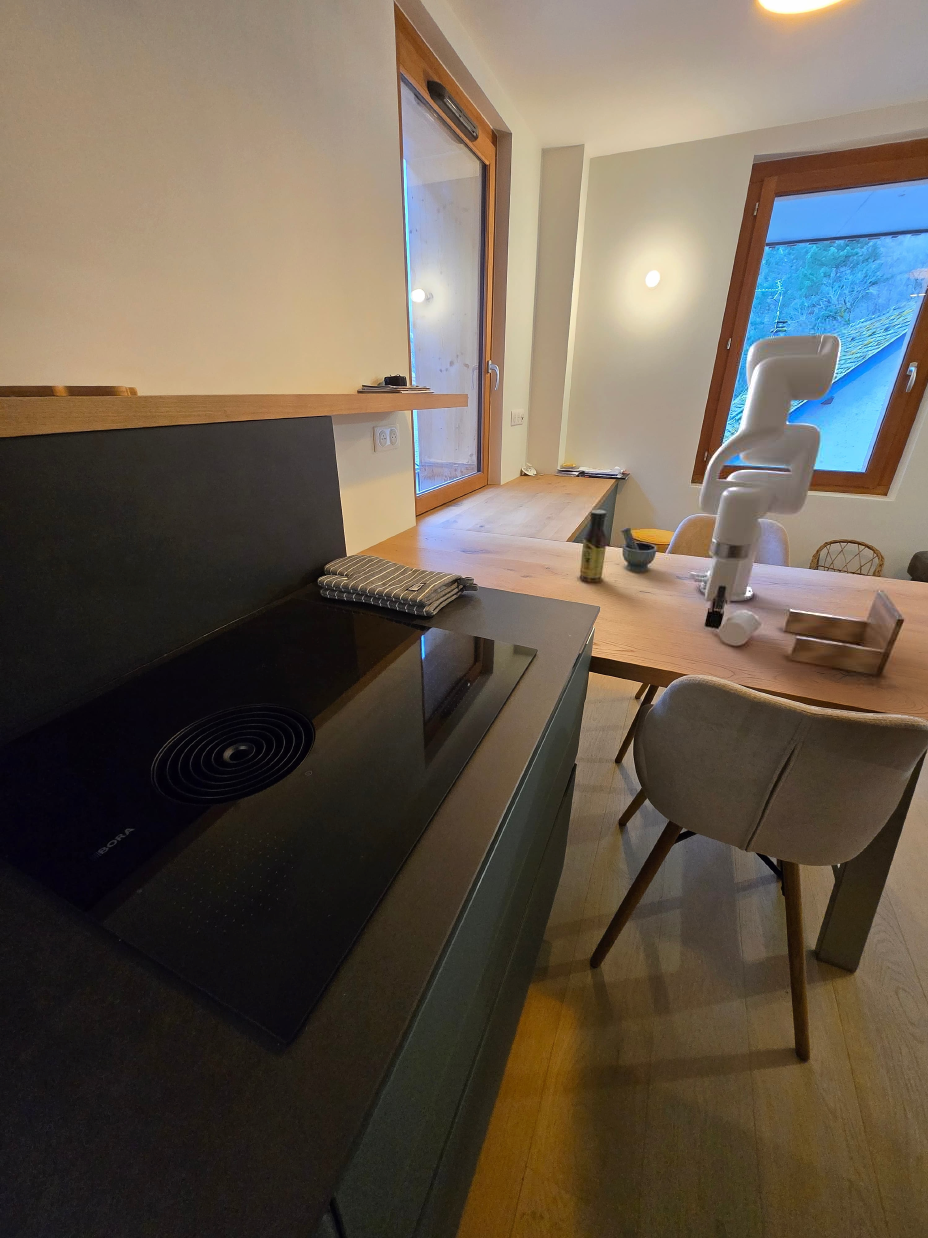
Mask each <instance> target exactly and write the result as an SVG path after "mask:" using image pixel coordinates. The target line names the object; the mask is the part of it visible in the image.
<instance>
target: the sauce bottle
mask: <svg viewBox="0 0 928 1238" xmlns="http://www.w3.org/2000/svg"><path fill="white" fill-rule="evenodd" d="M589 516H590V521H589V527H588V529H587V531H586V533H585V535H584V537H583V541H582V550H581V559H580V567H579V577H580V579H581V580H582V581H584V582H586V583H598V582H599V581H600V582H601V580H602V576H603V570H604V564H605V563H604V562H605V556H606V555H605V554H606V549H607V545H606V543H607V537H608V535H607V532H606V530H605V529H604V528H605V520H606V517H607V511H605V510H602V509H593V510H591V511H590V515H589Z"/></svg>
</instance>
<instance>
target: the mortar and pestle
mask: <svg viewBox="0 0 928 1238" xmlns="http://www.w3.org/2000/svg"><path fill="white" fill-rule="evenodd" d="M631 530H632V529H631V527H630V526H628V527H624V528H623V529H621V530H620V532H621V534H622V535H623V538H624V541H625V543H623V546H622V557H623V560H624V561H625V562H626V563H627V565H626V567H625V568H626V570H628V571H630V572H635V573H643V572H647V571H648V566H649V565H650V564H652V563H653V561H654V560H655V557H656V554H657V549H658V546H656V545H654V544H653V543H648V542H643V541H636V540H635V537H634V535H633V533H632V531H631Z"/></svg>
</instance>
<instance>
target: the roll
mask: <svg viewBox="0 0 928 1238" xmlns="http://www.w3.org/2000/svg"><path fill="white" fill-rule="evenodd" d="M761 626H762V623H761V621H760V619H759V617H758V616H757V615H756V614H755V613H754V612H753V611H749V610H746V609H740V610H737V611H735V613H733V614H732V615H731V616H730V617H728V618H727V619H726V620H725V621H724V622H722V623H721V626H720V627H719V629H717V630H718V631H717V632H718V636H719V638H720V639H721V640H722V641H723V642H724V643H725V644H727V645H729V646H735V647H738V646H741V645H744V644H745V643H746V642H747V641H748V640H749V639H750V638H751V637H752V636H753V635H754V634H755V633H756V632H757V631H758V629H759V628H761Z"/></svg>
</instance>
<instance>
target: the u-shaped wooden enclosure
mask: <svg viewBox="0 0 928 1238" xmlns="http://www.w3.org/2000/svg"><path fill="white" fill-rule="evenodd" d="M902 615H903V614H901V612H900V611H899V609H897V606H896V605H895V604H894V603H893V601H892V600H891V599H890V597H889V596H888V594H887V593H886V592H885V590H883V589H877V591H876V593H875V596H874V599H873V601H872V604H871V606H870V610H869V612H868V615H867V618H866V620H865V619H859V618H852V617H846V616H845V617H844V616H838V615H833V614H832V615H831V614H825V613H818V612H811V611H804V610H797V609H791V608H789V610H788V613H787V615H786V620H785V623H784V626H783V631H784V632H789V633H795V634H801V635H806V636H814V637H819V639H818V638H812V637H806V636H800V635H796V636H795V639H794V641H793V645H792V648H791V651H790V655H789V660H791V661H797V662H803V663H808V664H812V665H818V666H825V667H830V668H835V669H841V670H847V671H852V672H857V673H863V674H868V675H874V676H879V677H881V676H882V675H883V672H884V670H885V668H886V665H887V663H888V660H889V658H890V655H891V654H892V652H893V648H894V646H895V644H896V642H897V639H898V636H899V634H900V632H901V630H902V627H903V624H904V622H905V618H904V617H903V616H902ZM820 638H826V639H831V641H830V640H825V639H820ZM832 640H838V641H843V642H844V641H845V642H850V643H857V644H859V645H855V644H849V643H843V642H836V641H832Z"/></svg>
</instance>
